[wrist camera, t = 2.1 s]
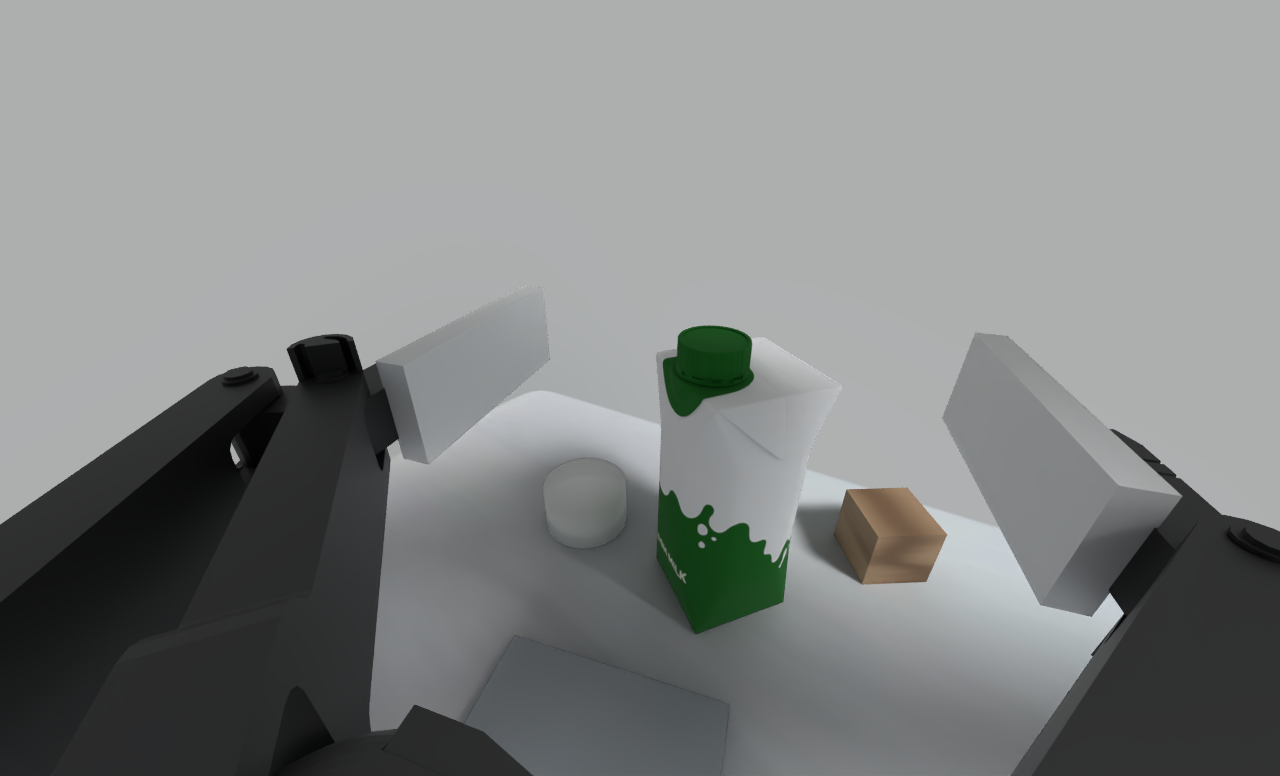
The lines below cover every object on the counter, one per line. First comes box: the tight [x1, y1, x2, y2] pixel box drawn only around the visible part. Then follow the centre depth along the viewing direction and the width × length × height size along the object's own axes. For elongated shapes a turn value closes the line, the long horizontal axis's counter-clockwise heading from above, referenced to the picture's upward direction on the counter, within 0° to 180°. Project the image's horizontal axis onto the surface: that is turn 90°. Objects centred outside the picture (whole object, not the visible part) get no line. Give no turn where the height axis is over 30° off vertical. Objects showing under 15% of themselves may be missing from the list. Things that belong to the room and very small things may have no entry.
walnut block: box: [834, 488, 947, 584], centre depth 36 cm, size 5×5×5 cm
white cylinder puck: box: [543, 458, 627, 549], centre depth 39 cm, size 7×7×4 cm
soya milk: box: [656, 326, 842, 634], centre depth 30 cm, size 9×9×20 cm
